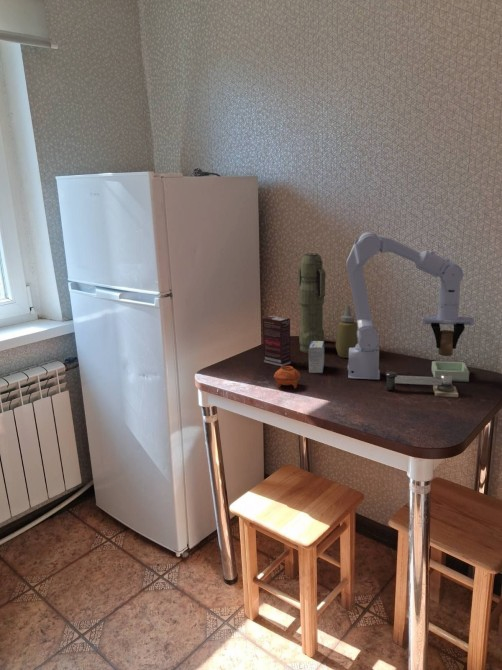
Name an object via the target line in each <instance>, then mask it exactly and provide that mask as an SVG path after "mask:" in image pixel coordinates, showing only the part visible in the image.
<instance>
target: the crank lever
mask: <svg viewBox="0 0 502 670" xmlns="http://www.w3.org/2000/svg"><path fill="white" fill-rule="evenodd" d="M399 375H400V374H398V373H397V372H396V371H386V372H385V376H386V378H385V380H386V381H385V389H386V390H388V391H394V390H396V384H403V385H404V384H405V385H407V384H409V385H428V386H433V385H441V386H445V387H450V386H451V385H453V384H452V383H453V381H452V375H450V374H441V377H434V376H421V375H420V376H419V375H418V376H417V375H401V376H399Z"/></svg>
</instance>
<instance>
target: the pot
mask: <svg viewBox="0 0 502 670" xmlns="http://www.w3.org/2000/svg"><path fill="white" fill-rule="evenodd" d="M273 379H274V380H275V383H276V387H277V388H278V389H279V388H280V386H281V385H283V386H293V388H294V390H296V389H297V387H298V381H299V380H300V379H301V373H300V372H299V370H297V369H296V368H294V367H293V366H291V365H285V366H280V368H279V369H278V370H277V371H275V373H274V375H273Z"/></svg>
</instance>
